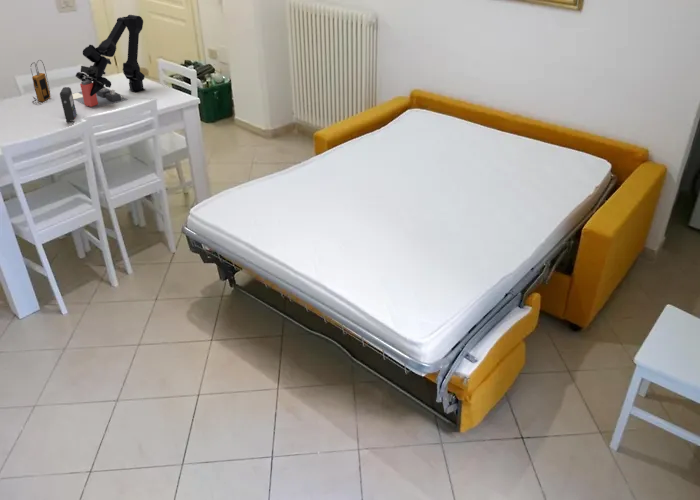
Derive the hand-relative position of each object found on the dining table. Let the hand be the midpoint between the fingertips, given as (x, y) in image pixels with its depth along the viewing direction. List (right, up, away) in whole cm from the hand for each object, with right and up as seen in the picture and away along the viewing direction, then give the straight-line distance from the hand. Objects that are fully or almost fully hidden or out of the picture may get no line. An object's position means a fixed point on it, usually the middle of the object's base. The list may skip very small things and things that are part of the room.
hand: (87, 94), depth 295 cm
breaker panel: (-2, +1, +14) cm, 14 cm away
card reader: (-3, -15, -9) cm, 17 cm away
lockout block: (0, -4, +4) cm, 6 cm away
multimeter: (-32, +1, +13) cm, 34 cm away
